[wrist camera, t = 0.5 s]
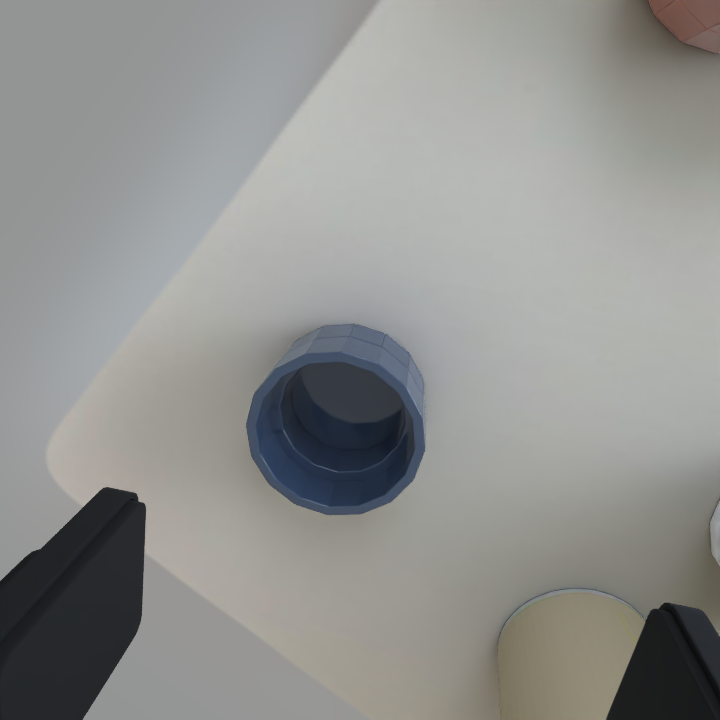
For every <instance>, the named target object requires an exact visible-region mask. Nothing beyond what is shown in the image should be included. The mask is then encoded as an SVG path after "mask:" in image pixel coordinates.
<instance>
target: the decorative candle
mask: <svg viewBox="0 0 720 720" xmlns="http://www.w3.org/2000/svg"><path fill="white" fill-rule="evenodd" d="M710 535H711V553H712V555H713V556H714V558H715V559H716V561H717V563H718V564H719V566H720V501H719V503H718V505H717V507H716V510H715V512H714V514H713V517H712V519H711V521H710Z"/></svg>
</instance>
